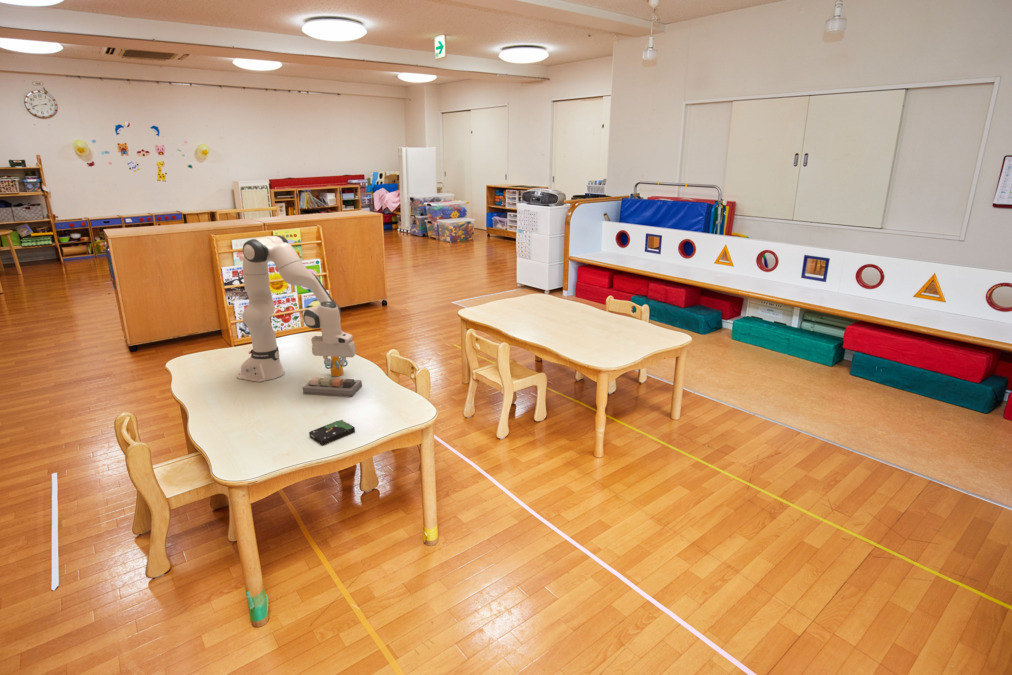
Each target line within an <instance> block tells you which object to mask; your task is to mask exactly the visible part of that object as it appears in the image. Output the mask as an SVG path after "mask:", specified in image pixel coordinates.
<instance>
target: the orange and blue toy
mask: <svg viewBox="0 0 1012 675" xmlns="http://www.w3.org/2000/svg"><path fill="white" fill-rule="evenodd" d="M327 358H328V357H327ZM328 359H329V360H331V364H330V365H327V364H326V361H325V360H324V359H323V363H324V367H325V369H327V370H330V375H331V377H335V378H337V377H341V376H343V375H344V369H343V368H345V367H347V366H348V364H349V362H348V361H347V358H346V359H345V361H344V363H345V364H344V365H343V366H342V365H340V362H341V361H342V360H343V359H342V358H341V357H332V356H330V358H328Z"/></svg>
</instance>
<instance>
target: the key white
mask: <svg viewBox="0 0 1012 675" xmlns="http://www.w3.org/2000/svg"><path fill="white" fill-rule="evenodd" d="M321 378H322V377H320V376H313V377H311V378H310V379H309V382H310V385H319V384H320V383H321Z"/></svg>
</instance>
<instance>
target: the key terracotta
mask: <svg viewBox="0 0 1012 675" xmlns="http://www.w3.org/2000/svg"><path fill="white" fill-rule="evenodd" d="M333 379H334V380H333V381H332V386H341V385H342V384H343V379H344V378H341V377H340V378H338V377H335V378H333Z"/></svg>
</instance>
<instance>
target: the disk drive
mask: <svg viewBox="0 0 1012 675" xmlns="http://www.w3.org/2000/svg"><path fill="white" fill-rule="evenodd" d="M353 432H354V433H356V429H355V426H353V425H352V424H350V423H348V422H347V421H344V420H343V419H341V420H336V421H334V422H331V423H329V424H325V425H323V426H320V427H318V428H315V429H313V430H310V431H309V432H308V434H309V435H308V436H309V438H310V439H312V440H314V441H315V442H317V443H318V444H319V443H320V444H319V445H321V446H325V445H328V444H329V442H330V443H332V442H335V441H336V440H339V439H342V438H344V437H346V436H348V435H351V434H354V433H353ZM327 443H328V444H327ZM324 444H325V445H324Z"/></svg>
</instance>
